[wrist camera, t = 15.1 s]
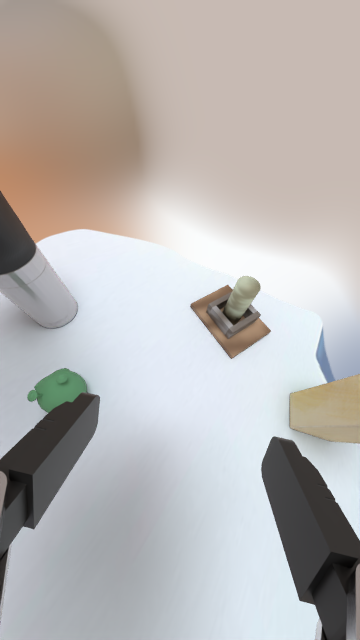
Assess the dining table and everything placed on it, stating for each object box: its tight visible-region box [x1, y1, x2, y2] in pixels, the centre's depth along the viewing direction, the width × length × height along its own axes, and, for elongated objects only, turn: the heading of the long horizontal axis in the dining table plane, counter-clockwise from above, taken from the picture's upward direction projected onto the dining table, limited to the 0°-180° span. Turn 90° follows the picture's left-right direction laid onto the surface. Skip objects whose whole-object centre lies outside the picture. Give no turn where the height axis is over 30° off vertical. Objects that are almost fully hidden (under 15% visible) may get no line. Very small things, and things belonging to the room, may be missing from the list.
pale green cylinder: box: [222, 276, 260, 325], centre depth 41 cm, size 4×4×12 cm
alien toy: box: [27, 368, 87, 413], centre depth 33 cm, size 7×8×10 cm
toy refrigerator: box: [290, 374, 360, 443], centre depth 29 cm, size 8×7×21 cm
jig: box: [190, 285, 271, 359], centre depth 46 cm, size 16×12×5 cm
